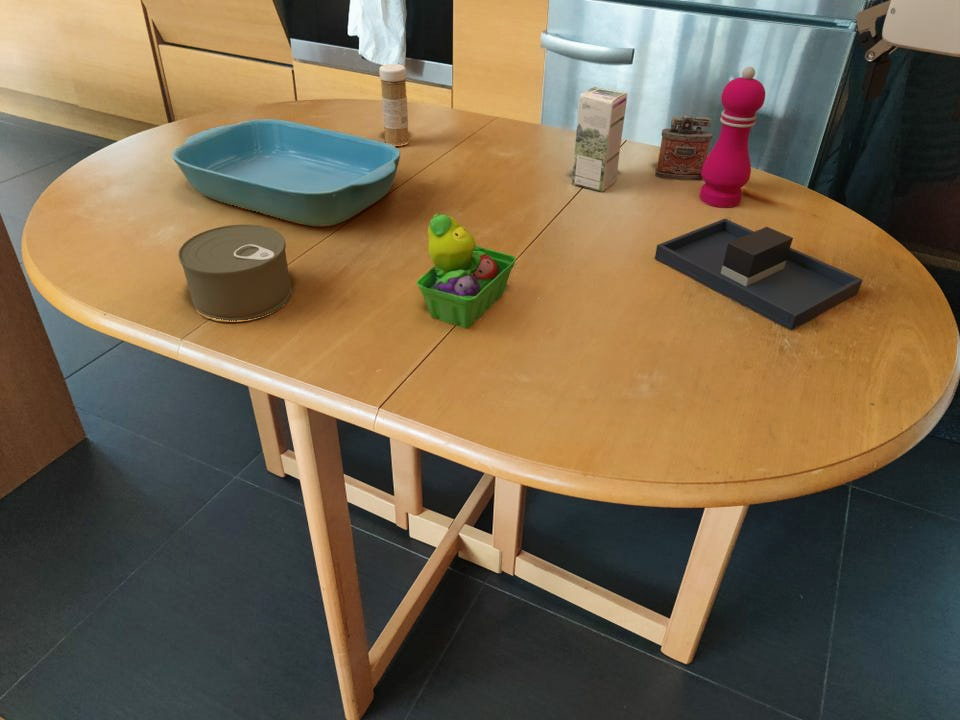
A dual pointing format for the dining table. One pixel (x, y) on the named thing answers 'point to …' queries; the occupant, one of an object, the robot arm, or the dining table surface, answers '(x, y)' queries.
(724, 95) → the pepper mill
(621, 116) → the syrup box
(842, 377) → the dining table surface
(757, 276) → the eraser
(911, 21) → the robot arm
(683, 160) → the lighter
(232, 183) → the casserole dish
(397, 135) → the sprinkles bottle
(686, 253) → the tray
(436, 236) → the fruit basket
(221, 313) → the can
